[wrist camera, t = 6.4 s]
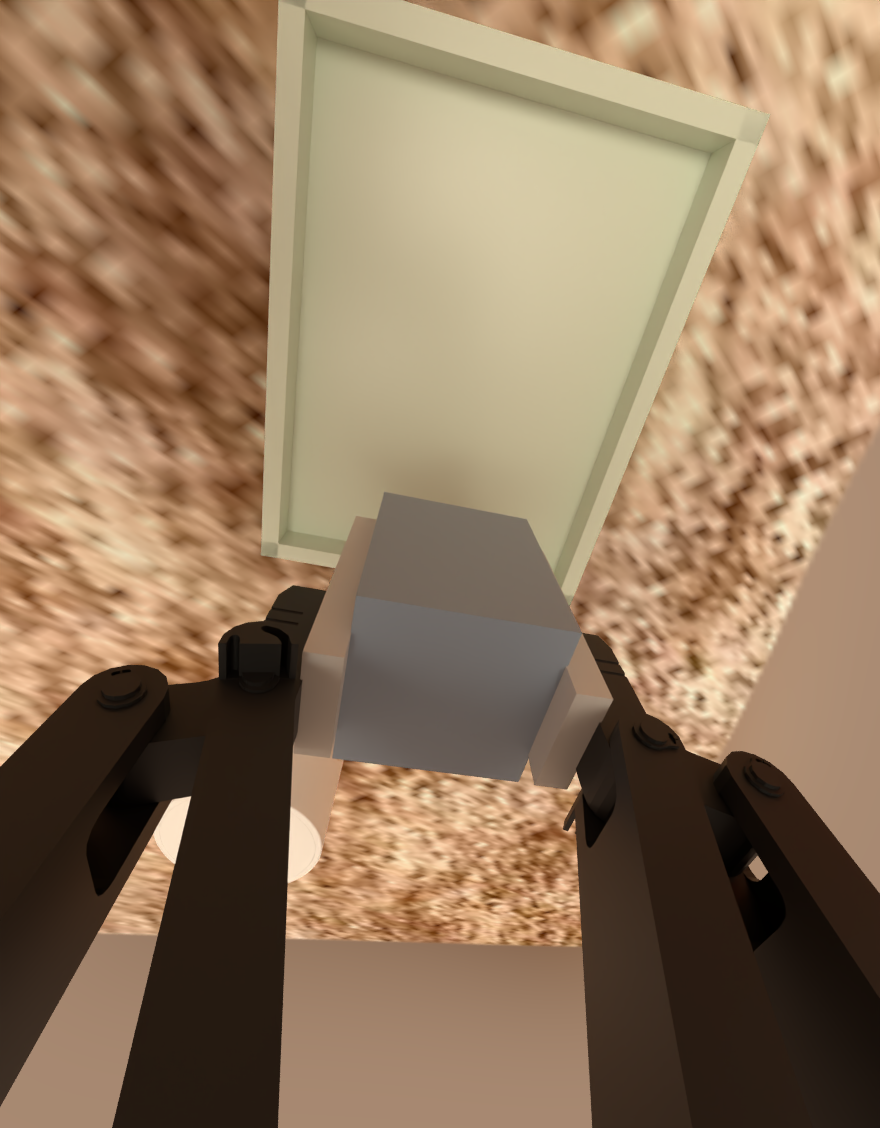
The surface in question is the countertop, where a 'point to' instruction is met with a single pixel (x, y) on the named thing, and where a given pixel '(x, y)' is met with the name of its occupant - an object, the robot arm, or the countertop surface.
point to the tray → (474, 270)
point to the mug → (307, 813)
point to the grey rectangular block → (452, 642)
